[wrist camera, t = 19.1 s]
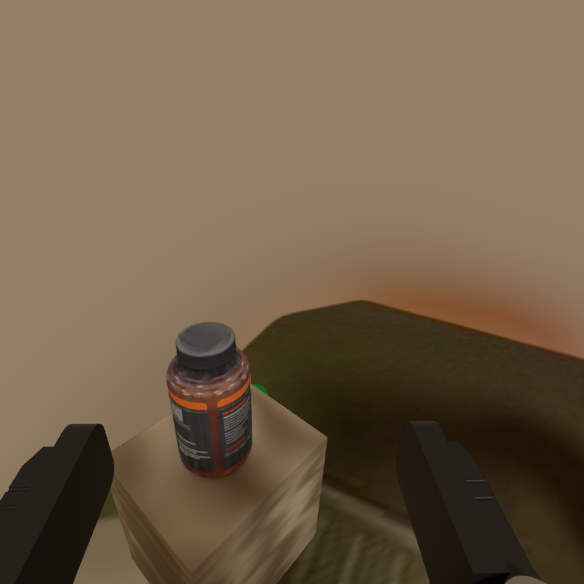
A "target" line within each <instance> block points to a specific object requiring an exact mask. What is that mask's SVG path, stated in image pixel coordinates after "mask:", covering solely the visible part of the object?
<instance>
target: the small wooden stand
mask: <svg viewBox="0 0 584 584" xmlns="http://www.w3.org/2000/svg"><path fill="white" fill-rule="evenodd" d="M251 404H252V433H253V440H252V449H251V452H250V454H249V456H248V458H247V460H246V461H245V462H244V463H243V464H242V465H241V466H240V467H239V468H238V469H237V470H235V471H233V472H232V473H230V474H228V475H225V476H221V477H214V478H206V477H201V476H198V475H196V474H194V473H192V472H190V471H189V470H188V469H187V468H186V467H185V466H184V464H183V463H182V461H181V458H180V454H179V450H178V444H177V438H176V433H175V427H174V421H173V415H172V413H171V414H169V415H168V416H166V417H165V418H163V419H161V420H160V421H158V422H157V423H155V424H153V425H152V426H151V427H149V428H147V429H146V430H144V431H142V432H141V433H140V434H138V435H136V436H135V437H133V438H132V439H130V440H128V441H127V442H125V443H124V444H122V445H121V446H119V447H117V448H116V449H114V450H113V451H111V453H112V456H113V460H114V476H113V481H112V485H111V488H110V489H111V492H112V495H113V498H114V501H115V505H116V508H117V511H118V514H119V517H120V521H121V524H122V527H123V530H124V533H125V537H126V540H127V543H128V546H129V549H130V552H131V556H132V558H133V560H134V562H135V563H136V564H137V566H138V567H139V569H140V570H141V572H142V573H143V575H144V576H145V577H146V579H147V580H148V582H149V583H150V584H277V582H278V581H279V580H280V579H281V577H282V576H283V575H284V574H285V572H286V571H287V570H288V569H289V567H290V566H291V565H292V564H293V562H294V561H295V560H296V559H297V557H298V556H299V555H300V554H301V552H302V551H303V550H304V549H305V547H306V546H307V545H308V544H309V542H310V541H311V540H312V539H313V537H314V536H315V535H316V527H317V519H318V510H319V502H320V494H321V486H322V478H323V470H324V461H325V453H326V445H327V437H326V436H325V435H323V434H322V433H320V432H319V431H318V430H316V429H315V428H313V427H312V426H310V425H309V424H308V423H306V422H305V421H303V420H302V419H300V418H299V417H298V416H296V415H295V414H293V413H292V412H291V411H289V410H288V409H286V408H285V407H283V406H282V405H281V404H279V403H278V402H276V401H275V400H273V399H272V398H271V397H269V396H268V395H266V394H265V393H263V392H262V391H261V390H259V389H258V388H256V387H255V386H253V385H252V384H251Z"/></svg>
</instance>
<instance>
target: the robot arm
mask: <svg viewBox="0 0 584 584" xmlns="http://www.w3.org/2000/svg"><path fill="white" fill-rule="evenodd" d="M396 471H397V478H398V482H399V485H400V488H401V491H402V495H403V498H404V501H405V504H406V507H407V510H408V514H409V517H410V520H411V523H412V526H413V530H414V533H415V536H416V539H417V542H418V545H419V549H420V552H421V555H422V558H423V561H424V565H425V568H426V571H427V574H428V577H429V580H430V584H546V583H544V582H543V581H542V580H541V579H540V578H539V576H538V575H537V574H536V572H535V571H534V569H533V567H532V566H531V564H530V562H529V560H528V558H527V556H526V554H525V553H524V551H523V549H522V547H521V545H520V543H519V541H518V539H517V537H516V536H515V534H514V532H513V530H512V528H511V526H510V524H509V522H508V521H507V519H506V517H505V515H504V513H503V511H502V509H501V507H500V506H499V504H498V502H497V500H495V499H494V494H493V492H492V491H491V489H490V487H489V485H488V483H486V482H485V477H484V476H483V474H482V472H481V470H480V468H479V466H478V464H477V462H476V461H475V459H474V458H473V457H472V456H471V455H470V454H469V453H468V452H467V451H466V450H465V449H464V447H463V446H462V445H461V444H460V443H459V442H447V440H446V438H445V436H444V434H443V432H442V430H441V428H440V426H439V424H438V423H437V422H436V421H407V422H406V423H405V426H404V430H403V434H402V438H401V441H400V445H399V449H398V453H397V457H396ZM113 476H114V460H113V456H112V453H111V450H110V446H109V443H108V440H107V436H106V433H105V430H104V427H103V425H101V424H70V425H68V426H67V427H66V428H65V429H64V430H63V432H62V433H61V436H60V437H59V439H58V440H57V442H56V444H55V445H54V447H43V448H42V449H40V451H38V452H37V453H36V454H35V455H34V456H33V457H32V458H31V459H29V460H28V461H27V462H26V463H25V464H24V465H23V466H22V468H21V469H20V471H19V472H18V474H17V475H16V477H15V479H14V480H13V482H12V483H11V485H10V486H9V490H8V492H6V493H5V494H4V496H3V497H2V499H1V500H0V584H73V582H74V579H75V577H76V574H77V572H78V569H79V566H80V564H81V561H82V559H83V556H84V554H85V551H86V549H87V546H88V544H89V541H90V538H91V536H92V533H93V531H94V528H95V526H96V523H97V521H98V518H99V516H100V513H101V511H102V508H103V505H104V503H105V500H106V498H107V495H108V493H109V490H110V488H111V485H112V481H113Z"/></svg>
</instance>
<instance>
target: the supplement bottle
mask: <svg viewBox="0 0 584 584" xmlns="http://www.w3.org/2000/svg"><path fill="white" fill-rule="evenodd" d="M176 348H177V355H176V356H175V358H174V359H173V360H172V362H171V363H170V365H169V367H168V370H167V386H168V391H169V397H170V404H171V410H172V415H173V421H174V427H175V433H176V438H177V444H178V450H179V454H180V458H181V461H182V463H183V464H184V466H185V467H186V468H187V469H188V470H189V471H190V472H192V473H194V474H196V475H198V476H201V477H206V478H214V477H221V476H225V475H228V474H230V473H232V472H233V471H235V470H237V469H238V468H239V467H240V466H241V465H242V464H243V463H244V462H245V461H246V460H247V458H248V456H249V454H250V452H251V449H252V440H253V433H252V404H251V379H250V366H249V362H248V359H247V357H246V356H245V354H244V353H243V352H242V351H241V350H240V349H238V348H237V347H236V343H235V334H234V332H233V330H232V329H231V328H230V327H228V326H226V325H224V324H222V323H218V322H202V323H198V324H194V325H191V326H189V327H187V328H185V329H184V330H183V331H182V332H181V333H180V334H179V335H178V337H177V339H176Z"/></svg>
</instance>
